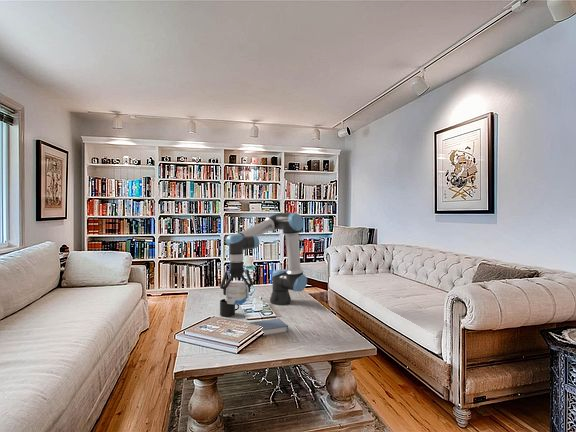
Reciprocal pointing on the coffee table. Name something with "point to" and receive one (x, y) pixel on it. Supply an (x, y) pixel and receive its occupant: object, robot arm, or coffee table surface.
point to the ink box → (237, 292)
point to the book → (272, 326)
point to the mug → (227, 308)
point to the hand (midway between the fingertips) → (237, 299)
